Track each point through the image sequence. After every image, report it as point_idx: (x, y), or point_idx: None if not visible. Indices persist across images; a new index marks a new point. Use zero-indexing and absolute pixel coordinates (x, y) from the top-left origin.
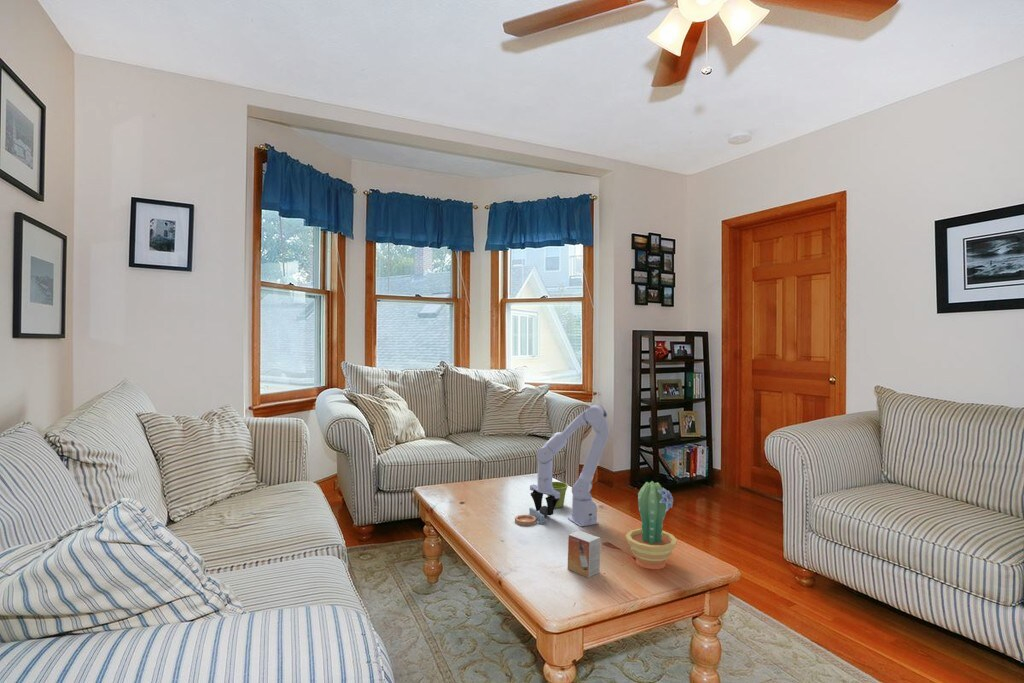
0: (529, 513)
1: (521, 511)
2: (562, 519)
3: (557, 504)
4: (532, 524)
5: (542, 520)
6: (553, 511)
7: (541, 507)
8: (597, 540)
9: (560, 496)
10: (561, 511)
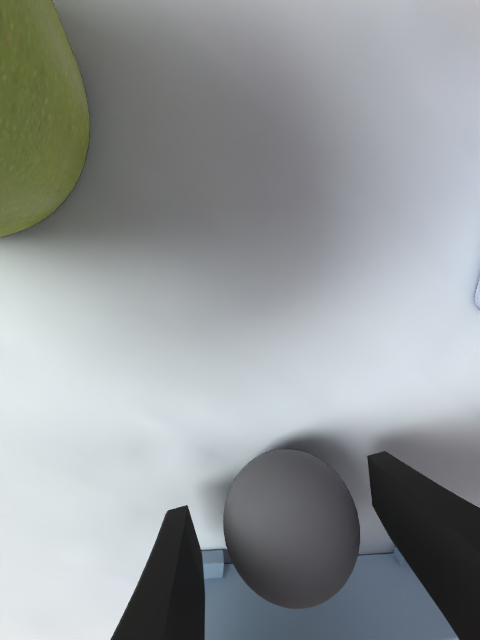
0: None
1: (23, 609)
2: (444, 359)
3: (71, 161)
4: None
5: None
6: (412, 471)
7: (292, 608)
8: None
9: (24, 13)
10: (234, 206)
